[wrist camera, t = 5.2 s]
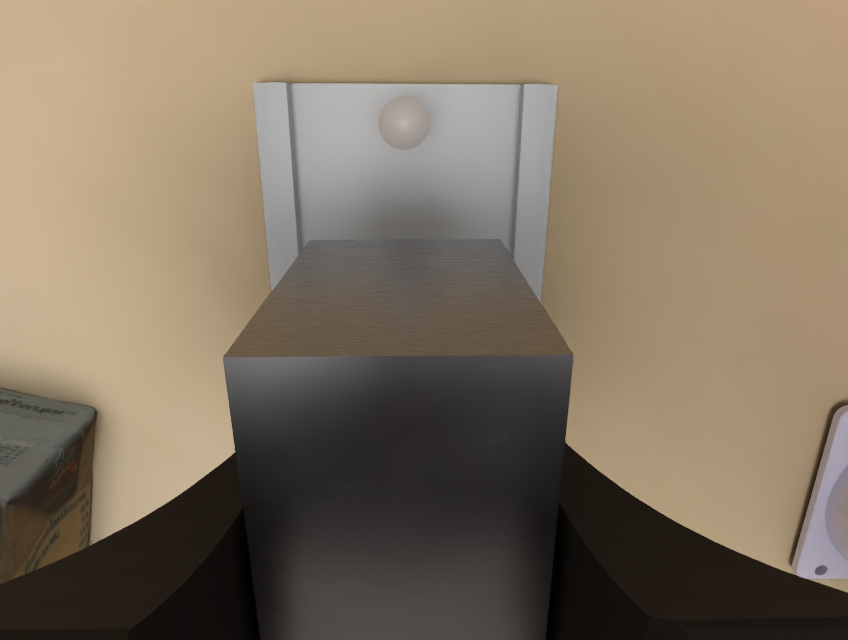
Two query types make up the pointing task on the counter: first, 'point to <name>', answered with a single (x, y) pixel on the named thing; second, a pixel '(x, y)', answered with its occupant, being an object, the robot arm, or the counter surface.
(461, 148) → the tray
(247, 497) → the block
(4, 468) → the beverage carton
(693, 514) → the counter surface
